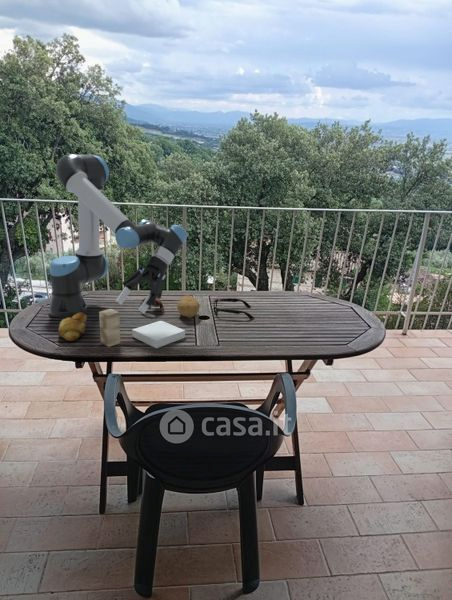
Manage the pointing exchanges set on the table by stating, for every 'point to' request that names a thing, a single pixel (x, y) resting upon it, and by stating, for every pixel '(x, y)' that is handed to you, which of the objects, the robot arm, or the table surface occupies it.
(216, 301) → the glasses
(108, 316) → the beech block
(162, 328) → the stone tile base
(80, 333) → the bread roll
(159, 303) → the brown arched figurine
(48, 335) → the table surface
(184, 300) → the potato
